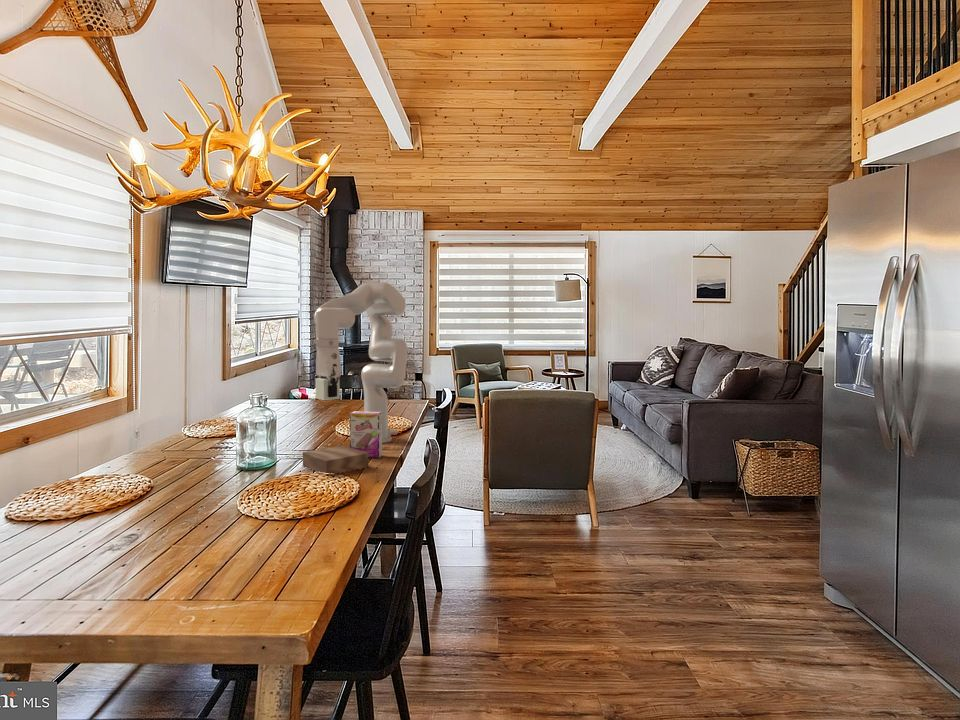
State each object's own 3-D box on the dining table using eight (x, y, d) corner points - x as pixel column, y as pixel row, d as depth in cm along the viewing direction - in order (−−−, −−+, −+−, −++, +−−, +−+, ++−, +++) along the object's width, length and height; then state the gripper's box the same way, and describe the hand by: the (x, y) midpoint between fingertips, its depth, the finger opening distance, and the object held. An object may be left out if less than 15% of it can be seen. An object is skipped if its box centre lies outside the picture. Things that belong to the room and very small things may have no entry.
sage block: (331, 397, 223) (331, 377, 223) (339, 398, 219) (339, 378, 218) (315, 398, 219) (315, 378, 219) (323, 400, 215) (323, 379, 214)
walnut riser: (343, 459, 227) (343, 445, 227) (368, 467, 216) (368, 453, 215) (302, 466, 216) (302, 452, 216) (326, 476, 205) (326, 460, 204)
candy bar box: (349, 457, 230) (348, 413, 228) (353, 454, 235) (352, 410, 233) (379, 458, 229) (379, 413, 227) (383, 455, 234) (382, 411, 232)
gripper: (349, 344, 214) (350, 397, 215) (325, 342, 227) (325, 392, 228) (329, 345, 209) (330, 399, 210) (305, 343, 222) (306, 394, 223)
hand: (327, 395), depth 219 cm, fingers closed on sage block, 6 cm apart
